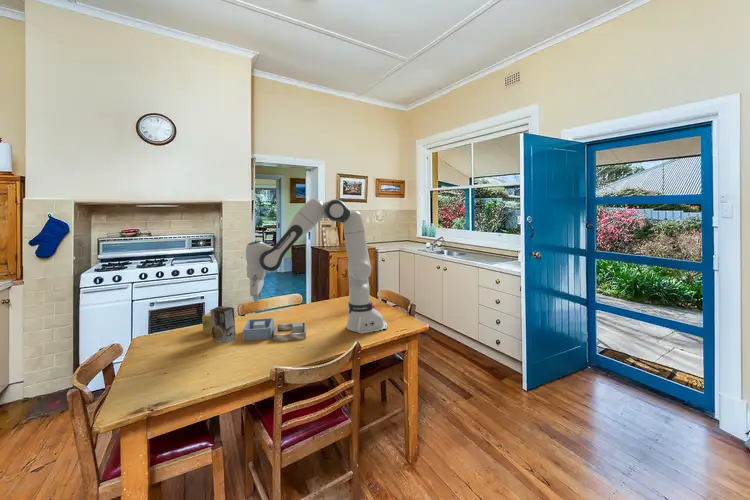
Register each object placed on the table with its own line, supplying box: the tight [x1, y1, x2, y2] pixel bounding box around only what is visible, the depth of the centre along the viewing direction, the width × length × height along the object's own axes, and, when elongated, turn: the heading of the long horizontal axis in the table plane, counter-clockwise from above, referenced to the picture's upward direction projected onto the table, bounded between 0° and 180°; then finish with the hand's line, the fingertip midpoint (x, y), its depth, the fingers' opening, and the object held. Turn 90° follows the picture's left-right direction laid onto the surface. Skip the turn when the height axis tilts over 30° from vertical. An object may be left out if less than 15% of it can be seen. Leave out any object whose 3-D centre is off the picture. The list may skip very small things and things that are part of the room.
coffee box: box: [209, 305, 237, 344], centre depth 159 cm, size 9×6×16 cm
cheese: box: [201, 312, 213, 335], centre depth 170 cm, size 10×11×10 cm
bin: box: [242, 317, 275, 341], centre depth 167 cm, size 13×15×6 cm
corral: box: [273, 322, 307, 342], centre depth 167 cm, size 16×15×3 cm
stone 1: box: [253, 321, 265, 329], centre depth 167 cm, size 5×5×5 cm
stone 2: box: [291, 322, 304, 333], centre depth 167 cm, size 5×5×5 cm
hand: (257, 299), depth 164 cm, fingers open, 8 cm apart
